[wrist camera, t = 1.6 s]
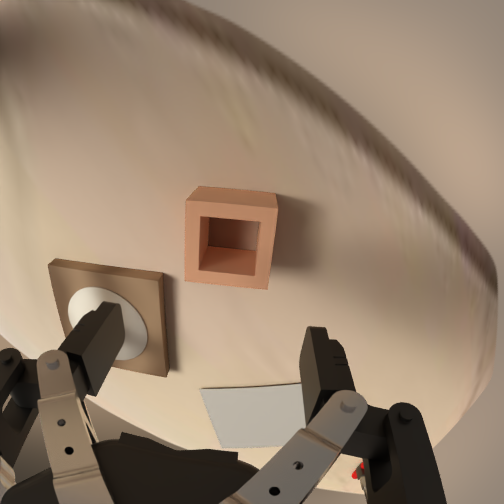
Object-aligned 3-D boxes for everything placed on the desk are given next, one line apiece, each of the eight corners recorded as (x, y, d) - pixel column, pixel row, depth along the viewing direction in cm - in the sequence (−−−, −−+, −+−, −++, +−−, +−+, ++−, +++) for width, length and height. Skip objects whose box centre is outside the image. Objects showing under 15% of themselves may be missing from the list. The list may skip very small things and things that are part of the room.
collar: (195, 255, 26) (184, 281, 22) (198, 186, 24) (185, 200, 20) (266, 262, 26) (267, 289, 22) (275, 193, 24) (278, 208, 20)
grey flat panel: (179, 320, 30) (177, 324, 29) (427, 293, 28) (430, 297, 27) (222, 444, 39) (221, 448, 38) (391, 425, 37) (392, 429, 36)
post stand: (76, 348, 32) (46, 395, 24) (55, 258, 27) (8, 300, 19) (169, 368, 32) (151, 426, 24) (162, 272, 27) (131, 328, 20)
